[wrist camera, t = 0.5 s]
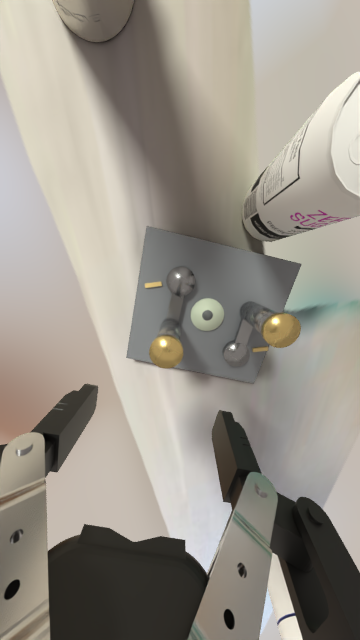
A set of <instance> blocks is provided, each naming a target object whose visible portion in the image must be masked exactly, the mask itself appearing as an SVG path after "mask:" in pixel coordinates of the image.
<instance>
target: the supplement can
mask: <svg viewBox="0 0 360 640" xmlns="http://www.w3.org/2000/svg"><path fill="white" fill-rule="evenodd" d="M357 216H360V71H359V72H357V73H354V74H353V75H351V76H350V77H349V78H348V79H347V80H345V81H344V82H343V83H342V84H341V85H339V86H338V87H337V88H336V89H335V90H334V91H332V92H331V93H330V94H329V96H328V97H327V98H326V99H325V100H324V101H323V103H322V104H321V105H320V106H319V107H318V108H317V110H316V111H315V112H314V113H313V114H312V116H311V117H310V118H309V119H308V120H307V121H306V122H305V124H304V125H303V126H302V127H301V128H300V129H299V131H298V132H297V133H296V134H295V135H294V137H293V138H292V139H291V140H290V141H289V142H288V143H287V145H286V146H285V147H284V148H283V149H282V151H281V152H280V153H279V154H278V155H277V156H276V157H275V159H274V160H273V161H272V162H271V163H270V165H269V166H268V167H267V168H266V169H265V170H264V172H263V173H262V174H261V175H260V176H259V177H258V179H257V180H256V181H255V182H254V183H253V184H252V186H251V187H250V189H249V190H248V192H247V194H246V195H245V198H244V202H243V205H242V220H243V222H244V225H245V228H246V230H247V231H248V232H249V233H250V234H251V235H252V237H254V238H256V239H258V240H260V241H270V242H272V241H275V240H279V239H282V238H285V237H289V236H292V235H296V234H299V233H302V232H306V231H309V230H313V229H316V228H319V227H323V226H326V225H330V224H333V223H336V222H340V221H343V220H347V219H350V218H354V217H357Z"/></svg>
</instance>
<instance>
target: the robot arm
mask: <svg viewBox="0 0 360 640" xmlns="http://www.w3.org/2000/svg"><path fill="white" fill-rule="evenodd" d="M52 1H53V3H54V5H55V7H56V10H57V12H58V13H59V15H60V17H61V18H62V20H63V21H64V23H65V24H66V25H67V26H68V27H69V28H70V30H71V31H72V32H74V33H75V34H76V35H78V36H79V37H81V38H83V39H85V40H87V41H92V42H102V41H106V40H109V39H111V38H113V37H114V36H115V35H117V34H118V33H119V32H120V31H121V30H122V28H123V27H124V25H125V24H126V23H127V20H128V18H129V16H130V14H131V11H132V7H133V3H134V0H52ZM97 393H98V386H95V385H90V384H84V386H83V387H82V388H81V389H80V390H79V391H72V392H70V393H68V394H67V395H65V396H64V397H63V398H62V399H61V400H60V401H59V403H58V404H56V406H55V407H54V408H53V409H52V410H51V411H50V412H49V413H48V414H47V415H46V416H45V417H44V418H43V419H42V420H41V421H40V423H39V424H38V425H37V426H36V427H35V428H34V429H33V430H32V431H31V432H30V433H26V434H23V435H21V436H18V437H17V438H15V439H14V440H12V441H11V442H10V443H9V444H5V445H0V640H259V635H260V629H261V623H262V616H263V610H264V604H265V598H266V592H267V585H268V579H269V573H270V567H271V560H272V553H274V554H276V555H277V556H278V559H279V562H280V566H281V569H282V572H283V575H284V579H285V582H286V585H287V589H288V592H289V595H290V599H291V602H292V605H293V609H294V612H295V615H296V619H297V622H298V625H299V629H300V632H301V635H302V639H303V640H360V573H359V571H358V569H357V567H356V565H355V563H354V562H353V560H352V558H351V556H350V554H349V553H348V551H347V549H346V547H345V546H344V544H343V542H342V540H341V538H340V536H339V535H338V533H337V531H336V529H335V528H334V526H333V524H332V522H331V520H330V519H329V517H328V516H327V514H326V513H325V512H324V511H323V509H322V508H321V507H320V506H319V505H317V504H316V503H315V502H314V501H312V500H311V499H309V498H306V497H300V498H298V500H297V501H296V502H294V501H292V500H290V499H288V498H286V497H285V496H283V495H281V494H279V493H277V492H276V490H275V488H274V486H273V485H272V483H271V482H270V481H269V480H268V479H267V478H266V477H265V476H264V475H262V473H261V471H260V468H259V466H258V463H257V461H256V458H255V456H254V453H253V451H252V448H251V447H250V443H249V441H248V438H247V436H246V433H245V430H244V429H243V428H242V426H241V425H240V424H239V423H238V422H235V421H234V418H233V415H232V413H231V412H226V411H221V410H219V412H218V414H217V417H216V420H215V423H214V426H213V429H212V441H213V447H214V452H215V458H216V464H217V469H218V475H219V480H220V486H221V491H222V497H223V502H228V503H231V506H232V512H231V514H230V517H229V519H228V522H227V524H226V527H225V530H224V532H223V535H222V537H221V540H220V542H219V545H218V548H217V550H216V553H215V555H214V558H213V560H212V562H211V565H210V567H209V570H208V572H207V573H206V571H205V570H204V569H203V567H202V566H201V565H200V563H199V562H198V561H197V560H196V559H195V558H194V557H193V556H191V555H190V554H189V553H187V552H186V551H185V540H181V539H175V538H168V537H162V536H160V537H156V538H152V539H147V540H143V541H138V542H132V541H130V540H129V539H127V538H125V537H123V536H122V535H120V534H118V533H117V532H115V531H113V530H112V529H110V528H105V527H99V526H92V525H86V524H84V527H83V529H82V532H81V534H80V535H77V536H74V537H71V538H69V539H66V540H64V541H62V542H60V543H59V544H57V545H56V546H54V547H53V548H52V549H50V550H49V551H48V549H47V510H46V509H47V507H46V481H45V478H46V476H47V475H48V473H49V472H50V471H52V472H58V470H59V469H60V467H61V466H62V464H63V462H64V461H65V459H66V458H67V456H68V454H69V453H70V451H71V449H72V448H73V446H74V445H75V443H76V441H77V440H78V438H79V437H80V435H81V433H82V432H83V430H84V429H85V427H86V425H87V424H88V422H89V420H90V419H91V417H92V415H93V413H94V411H95V408H96V401H97Z"/></svg>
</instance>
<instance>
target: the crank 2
mask: <svg viewBox="0 0 360 640" xmlns="http://www.w3.org/2000/svg"><path fill="white" fill-rule="evenodd" d="M240 316H241V317H242V318H241V321H240V324H239V327H238V330H237V333H236V336H235V339H234V340H233V341H230V342H228V343H227V344H226V345H225V346H224V348H223V351H222V354H223V357H224V359H225V361H226V362H227V363H228V364H229V365H231V366H234V367H237V366H242V365H244V364H245V363H246V362H247V361H248V360H249V357H250V351H249V349H248V347H247V346H246V345H247V342H248V340H249V337H250V334H251V331H252V328H253V327H254V328H255V329H256V330H257V331H258V332H260V333H261V334H262V337H263V339H264V340H265V341H266V342H267V343H268V344H270V345H271V346H273V347H276V348H283V347H287V346H289V345H291V344H292V343H294V342H295V341H296V340H297V338H298V336H299V334H300V330H301V326H300V323H299V321H298V320H297V319H296V318H295V317H294V316H292V315H290V314H287V313H283V312H279V313H278V312H276V311H273V310H271V309H269V308H267V307H265V306H262V305H260V304H258V303H256V302H253V301H249V302H246V303H244V304H243V305H242V307H241V309H240Z"/></svg>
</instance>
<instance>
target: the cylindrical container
mask: <svg viewBox="0 0 360 640" xmlns="http://www.w3.org/2000/svg"><path fill="white" fill-rule="evenodd" d="M267 588H268V591H269V595H270V599H271V602H272V606H273V610H274V613H275V617H276V621H277V624H278V628H279V632H280V636H281V639H282V640H303V639H302V635H301V632H300V629H299V625H298V622H297V619H296V615H295V612H294V609H293V605H292V602H291V599H290V595H289V592H288V589H287V585H286V582H285V579H284V575H283V572H282V569H281V566H280V562H279V559H278V556H277V555H276V554H274V553H272V560H271V567H270V573H269V579H268V585H267Z"/></svg>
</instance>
